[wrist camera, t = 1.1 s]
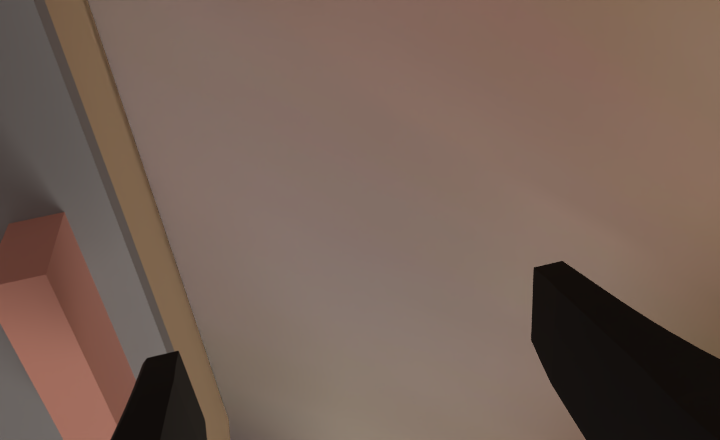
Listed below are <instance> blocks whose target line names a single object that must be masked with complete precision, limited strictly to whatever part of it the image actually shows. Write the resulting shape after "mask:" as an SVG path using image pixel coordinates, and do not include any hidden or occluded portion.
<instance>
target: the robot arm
mask: <svg viewBox="0 0 720 440" xmlns="http://www.w3.org/2000/svg"><path fill="white" fill-rule="evenodd" d="M531 341H532V343H533V345H534V347H535V350H536V352H537V354H538V356H539V359H540V361H541V363H542V365H543V367H544V369H545V372H546V374H547V376H548V378H549V380H550V382H551V384H552V386H553V387H554V389H555V391H556V392H557V394H558V395H559V397H560V399H561V400H562V402H563V404H564V405H565V407H566V408H567V410H568V412H569V413H570V415H571V416H572V418H573V420H574V421H575V423H576V424H577V426H578V428H579V429H580V431H581V432H582V434H583V436H584V437H585V439H586V440H720V359H719V358H716V357H715V356H713V355H711V354H709V353H707V352H705V351H703V350H701V349H699V348H698V347H696V346H694V345H692V344H690V343H689V342H687V341H685V340H683V339H682V338H680V337H678V336H676V335H675V334H673V333H671V332H669V331H668V330H666V329H664V328H663V327H661V326H659V325H658V324H656V323H654V322H653V321H651V320H650V319H648V318H646V317H645V316H643V315H642V314H640V313H639V312H637V311H635V310H634V309H632V308H631V307H629V306H628V305H626V304H625V303H623V302H622V301H620V300H619V299H617V298H616V297H614V296H613V295H611V294H610V293H608V292H607V291H605V290H604V289H602V288H601V287H599V286H598V285H597V284H595V283H594V282H592V281H591V280H589V279H588V278H586V277H585V276H583V275H582V274H581V273H579V272H578V271H576V270H575V269H573V268H572V267H570V266H569V265H567V264H566V263H564V262H563V261H560V262H556V263H552V264H547V265H543V266H539V267H534V275H533V304H532V332H531ZM110 440H207V433H206V423H205V418H204V416H203V413H202V410H201V408H200V405H199V402H198V400H197V397H196V395H195V392H194V389H193V387H192V384H191V382H190V379H189V376H188V374H187V371H186V368H185V366H184V363H183V361H182V358H181V355H180V353H179V351H175V352H170V353H166V354H162V355H157V356H153V357H149V358H147V359H146V360H145V361H144V363H143V364H142V367H141V370H140V372H139V375H138V377H137V380H136V382H135V385H134V387H133V390H132V392H131V395H130V397H129V400H128V402H127V404H126V407H125V409H124V411H123V413H122V416H121V418H120V420H119V422H118V425H117V427H116V429H115V431H114V433H113V435H112V437H111V439H110Z"/></svg>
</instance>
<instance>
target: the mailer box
mask: <svg viewBox="0 0 720 440" xmlns="http://www.w3.org/2000/svg"><path fill="white" fill-rule="evenodd" d="M45 3H46V5H47V8H48V11H49V14H50V16H51V19H52V22H53V24H54V27H55V30H56V32H57V35H58V38H59V41H60V43H61V46H62V49H63V51H64V54H65V57H66V60H67V62H68V65H69V68H70V70H71V73H72V76H73V78H74V81H75V84H76V87H77V89H78V92H79V95H80V97H81V100H82V103H83V105H84V108H85V111H86V114H87V116H88V119H89V122H90V124H91V127H92V130H93V132H94V135H95V138H96V141H97V143H98V146H99V149H100V151H101V154H102V157H103V160H104V162H105V165H106V168H107V170H108V173H109V176H110V178H111V181H112V184H113V187H114V189H115V192H116V195H117V197H118V200H119V203H120V205H121V208H122V211H123V214H124V216H125V219H126V222H127V224H128V227H129V230H130V232H131V235H132V238H133V241H134V243H135V246H136V249H137V251H138V254H139V257H140V260H141V262H142V265H143V268H144V270H145V273H146V276H147V278H148V281H149V284H150V287H151V289H152V292H153V295H154V297H155V300H156V303H157V305H158V308H159V311H160V314H161V316H162V319H163V322H164V324H165V327H166V330H167V332H168V335H169V338H170V341H171V343H172V346H173V349H174V351H179V353H180V355H181V358H182V361H183V363H184V366H185V368H186V371H187V374H188V376H189V379H190V382H191V384H192V387H193V389H194V392H195V395H196V397H197V400H198V402H199V405H200V408H201V410H202V413H203V416H204V418H205V423H206V433H207V440H230V431H229V420H228V417H227V414H226V411H225V408H224V405H223V402H222V399H221V396H220V393H219V390H218V387H217V384H216V381H215V378H214V375H213V372H212V369H211V366H210V363H209V360H208V357H207V354H206V352H205V349H204V346H203V343H202V340H201V337H200V334H199V331H198V328H197V325H196V322H195V319H194V316H193V313H192V310H191V307H190V304H189V301H188V298H187V295H186V292H185V289H184V286H183V283H182V280H181V277H180V274H179V271H178V268H177V265H176V262H175V259H174V256H173V253H172V250H171V247H170V244H169V242H168V239H167V236H166V233H165V230H164V227H163V224H162V221H161V218H160V215H159V212H158V209H157V206H156V203H155V200H154V197H153V194H152V191H151V188H150V185H149V182H148V179H147V176H146V173H145V170H144V167H143V164H142V161H141V158H140V155H139V152H138V149H137V146H136V143H135V140H134V137H133V134H132V132H131V129H130V126H129V123H128V120H127V117H126V114H125V111H124V108H123V105H122V102H121V99H120V96H119V93H118V90H117V87H116V84H115V81H114V78H113V75H112V72H111V69H110V66H109V63H108V60H107V57H106V54H105V51H104V48H103V45H102V42H101V39H100V36H99V33H98V30H97V27H96V24H95V22H94V19H93V16H92V13H91V10H90V7H89V4H88V1H87V0H45Z"/></svg>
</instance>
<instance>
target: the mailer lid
mask: <svg viewBox="0 0 720 440" xmlns="http://www.w3.org/2000/svg"><path fill="white" fill-rule="evenodd" d="M170 352H175V351H174V349H173V346H172V343H171V341H170V338H169V335H168V332H167V330H166V327H165V324H164V322H163V319H162V316H161V314H160V311H159V308H158V305H157V303H156V300H155V297H154V295H153V292H152V289H151V287H150V284H149V281H148V278H147V276H146V273H145V270H144V268H143V265H142V262H141V260H140V257H139V254H138V251H137V249H136V246H135V243H134V241H133V238H132V235H131V232H130V230H129V227H128V224H127V222H126V219H125V216H124V214H123V211H122V208H121V205H120V203H119V200H118V197H117V195H116V192H115V189H114V187H113V184H112V181H111V178H110V176H109V173H108V170H107V168H106V165H105V162H104V160H103V157H102V154H101V151H100V149H99V146H98V143H97V141H96V138H95V135H94V132H93V130H92V127H91V124H90V122H89V119H88V116H87V114H86V111H85V108H84V105H83V103H82V100H81V97H80V95H79V92H78V89H77V87H76V84H75V81H74V78H73V76H72V73H71V70H70V68H69V65H68V62H67V60H66V57H65V54H64V51H63V49H62V46H61V43H60V41H59V38H58V35H57V32H56V30H55V27H54V24H53V22H52V19H51V16H50V14H49V11H48V8H47V5H46V3H45V0H0V440H110V439H111V437H112V435H113V433H114V431H115V429H116V427H117V425H118V422H119V420H120V418H121V416H122V413H123V411H124V409H125V407H126V404H127V402H128V400H129V397H130V395H131V392H132V390H133V387H134V385H135V382H136V380H137V377H138V375H139V372H140V370H141V367H142V364H143V363H144V361H145V360H146V359H147V358H149V357H153V356H157V355H162V354H166V353H170Z"/></svg>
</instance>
